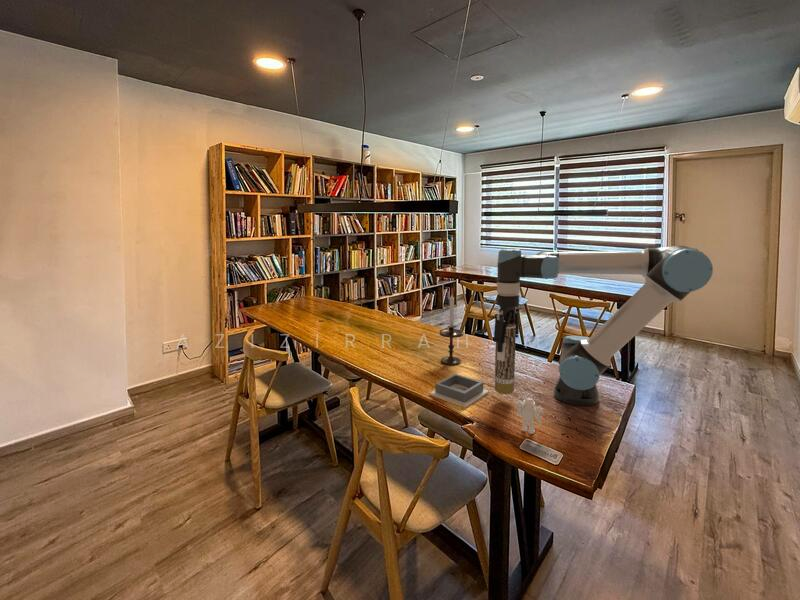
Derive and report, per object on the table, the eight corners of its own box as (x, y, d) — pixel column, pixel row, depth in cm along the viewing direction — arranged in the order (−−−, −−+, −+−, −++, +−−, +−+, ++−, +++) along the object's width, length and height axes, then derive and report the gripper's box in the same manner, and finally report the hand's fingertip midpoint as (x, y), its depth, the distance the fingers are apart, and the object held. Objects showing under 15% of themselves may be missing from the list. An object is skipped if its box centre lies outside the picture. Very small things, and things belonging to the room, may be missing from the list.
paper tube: (499, 385, 148) (500, 321, 143) (516, 390, 144) (518, 323, 139) (491, 392, 143) (492, 325, 138) (509, 396, 139) (511, 328, 134)
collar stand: (488, 393, 150) (489, 382, 149) (465, 408, 139) (465, 396, 138) (453, 381, 161) (454, 371, 160) (429, 394, 149) (429, 383, 148)
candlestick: (442, 356, 190) (443, 285, 183) (464, 359, 186) (466, 286, 179) (436, 364, 180) (437, 289, 173) (460, 367, 176) (461, 290, 169)
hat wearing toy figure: (511, 428, 125) (513, 393, 123) (517, 423, 128) (519, 389, 126) (539, 438, 119) (542, 402, 117) (544, 433, 122) (547, 397, 120)
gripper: (511, 288, 146) (509, 348, 150) (483, 297, 132) (482, 362, 136) (530, 291, 141) (527, 352, 145) (504, 300, 127) (502, 367, 131)
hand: (505, 357), depth 141 cm, fingers closed on paper tube, 7 cm apart
